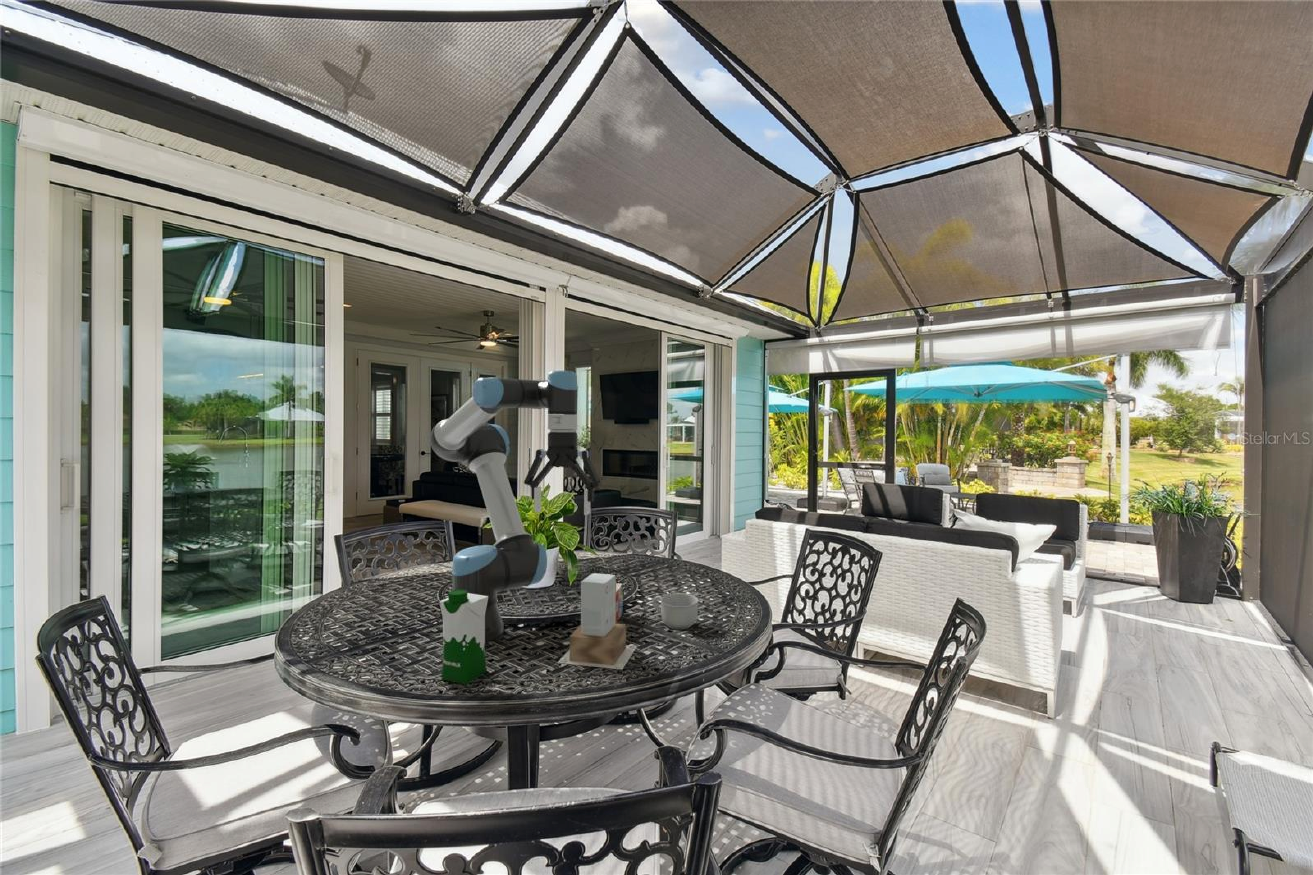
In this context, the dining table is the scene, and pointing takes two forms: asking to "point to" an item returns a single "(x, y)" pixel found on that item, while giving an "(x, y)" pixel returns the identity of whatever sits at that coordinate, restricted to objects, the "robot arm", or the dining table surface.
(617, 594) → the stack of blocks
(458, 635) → the milk carton
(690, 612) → the teacup
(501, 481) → the robot arm
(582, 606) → the small box
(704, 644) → the dining table surface
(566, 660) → the baseplate
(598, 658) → the walnut brick
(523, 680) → the dining table surface
